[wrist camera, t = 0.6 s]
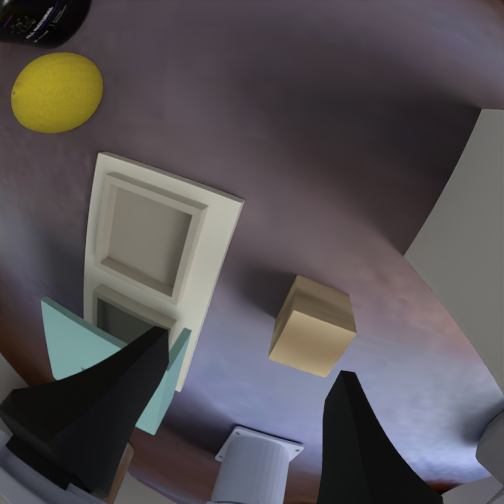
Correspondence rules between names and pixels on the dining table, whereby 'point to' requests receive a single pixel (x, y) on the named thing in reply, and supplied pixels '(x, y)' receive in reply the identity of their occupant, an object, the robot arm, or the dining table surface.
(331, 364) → the block
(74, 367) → the cover
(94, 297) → the board
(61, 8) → the supplement bottle
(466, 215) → the milk
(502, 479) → the coffee pot
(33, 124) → the lemon
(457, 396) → the dining table surface
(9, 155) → the dining table surface
